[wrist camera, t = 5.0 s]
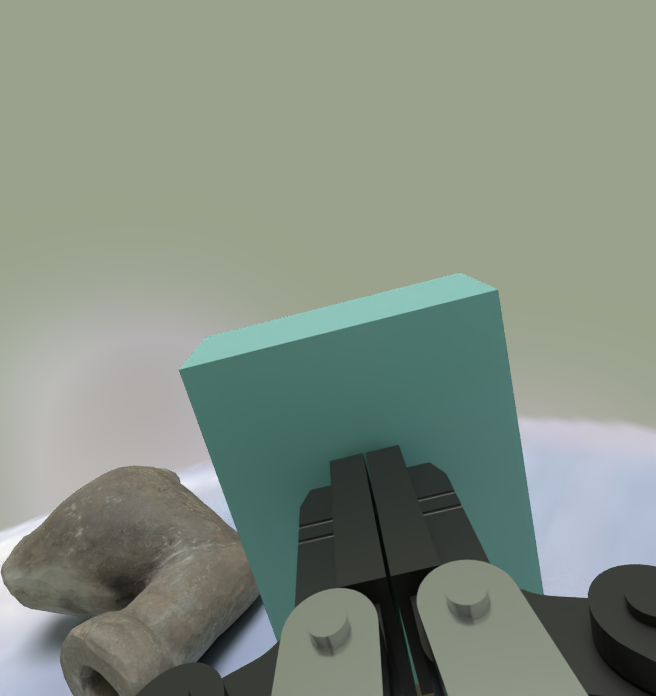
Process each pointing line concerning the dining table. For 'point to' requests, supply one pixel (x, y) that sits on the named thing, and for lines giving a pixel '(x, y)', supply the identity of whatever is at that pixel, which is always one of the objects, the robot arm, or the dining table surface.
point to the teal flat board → (365, 418)
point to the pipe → (132, 578)
